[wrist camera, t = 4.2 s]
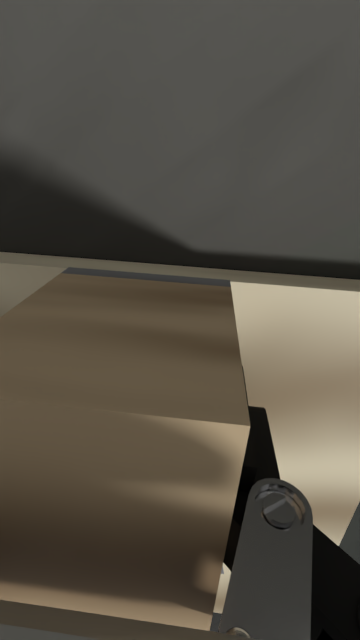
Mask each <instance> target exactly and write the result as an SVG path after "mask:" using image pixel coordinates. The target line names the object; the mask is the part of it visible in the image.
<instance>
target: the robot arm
mask: <svg viewBox="0 0 360 640" xmlns="http://www.w3.org/2000/svg"><path fill="white" fill-rule="evenodd" d="M242 369H243V366H242ZM243 376H244V370H243ZM244 384H245V377H244ZM245 391H246V384H245ZM246 398H247V391H246ZM247 405H248V398H247ZM248 412H249V419H250V431H249V436H248V441H247V446H246V451H245V456H244V461H243V466H242V471H241V476H240V481H239V486H238V491H237V496H236V501H235V506H234V511H233V516H232V521H231V526H230V531H229V536H228V541H227V546H226V550H225V555H224V560H223V563H224V564H225V565H226V566H227V567H228V569H229V570H230V571H231V575H230V580H229V584H228V589H227V593H226V598H225V602H224V607H223V611H222V616H221V620H220V625H219V629H218V632H212V631H206V630H200V629H193V628H187V627H180V626H174V625H167V624H160V623H154V622H147V621H141V620H134V619H128V618H121V617H114V616H108V615H101V614H95V613H88V612H81V611H74V610H67V609H61V608H54V607H47V606H40V605H33V604H27V603H20V602H13V601H6V600H0V640H360V565H359V564H358V563H357V562H356V561H355V560H354V559H352V558H351V557H350V556H349V555H348V554H347V553H346V552H344V551H343V550H342V549H341V548H340V547H339V546H338V545H336V544H335V543H334V542H333V541H332V540H331V539H330V538H328V537H327V536H326V535H325V534H324V533H323V532H322V531H320V530H319V529H318V528H317V527H316V526H315V525H314V524H313V515H312V508H311V506H310V504H309V502H308V500H307V498H306V497H305V496H304V495H303V494H302V492H301V491H300V490H298V489H297V488H296V487H295V486H293V485H292V484H290V483H288V482H286V481H284V480H281V479H280V474H279V470H278V465H277V460H276V455H275V451H274V446H273V441H272V436H271V432H270V427H269V422H268V417H267V413H266V409H265V408H264V407H254V406H249V405H248Z"/></svg>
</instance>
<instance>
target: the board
mask: <svg viewBox="0 0 360 640" xmlns="http://www.w3.org/2000/svg"><path fill="white" fill-rule="evenodd" d="M68 267H73V268H86V269H98V270H110V271H123V272H135V273H148V274H160V275H173V276H185V277H198V278H210V279H223V280H230V283H231V291H232V298H233V305H234V312H235V319H236V326H237V333H238V341H239V348H240V355H241V362H242V366H243V370H244V377H245V384H246V391H247V398H248V405H249V406H254V407H264V408H265V409H266V413H267V417H268V422H269V427H270V432H271V436H272V441H273V446H274V451H275V455H276V460H277V465H278V470H279V474H280V479H281V480H284V481H286V482H288V483H290V484H292V485H293V486H295V487H296V488H297V489H298V490H300V491H301V492H302V494H303V495H304V496H305V497H306V498H307V500H308V502H309V504H310V506H311V508H312V515H313V524H314V525H315V526H316V527H317V528H318V529H319V530H320V531H322V532H323V533H324V534H325V535H326V536H327V537H328V538H330V539H331V540H332V541H333V542H334V543H335V544H336V545H338V546H339V544H340V542H341V540H342V538H343V536H344V533H345V531H346V529H347V527H348V525H349V523H350V521H351V518H352V516H353V514H354V512H355V510H356V508H357V506H358V503H359V501H360V280H355V279H342V278H329V277H316V276H304V275H291V274H278V273H265V272H252V271H240V270H227V269H214V268H201V267H189V266H176V265H163V264H150V263H137V262H125V261H112V260H99V259H86V258H73V257H61V256H48V255H35V254H22V253H10V252H0V317H1V316H3V315H4V314H5V313H7V312H8V311H9V310H11V309H12V308H13V307H15V306H16V305H18V304H19V303H20V302H22V301H23V300H24V299H26V298H27V297H29V296H30V295H31V294H33V293H34V292H35V291H37V290H38V289H40V288H41V287H42V286H44V285H45V284H46V283H48V282H49V281H51V280H52V279H53V278H55V277H56V276H57V275H59V274H60V273H61V272H63V271H64V270H66V269H67V268H68ZM230 575H231V571H230V570H229V569H228V567H227V566H226V565H225V564H224V563H223V565H222V570H221V575H220V580H219V585H218V590H217V595H216V600H215V605H214V610H213V612H216V613H222V611H223V607H224V602H225V598H226V593H227V589H228V584H229V580H230Z"/></svg>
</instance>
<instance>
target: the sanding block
mask: <svg viewBox="0 0 360 640" xmlns="http://www.w3.org/2000/svg"><path fill="white" fill-rule="evenodd" d="M249 431H250V419H249V412H248V405H247V398H246V391H245V384H244V376H243V369H242V362H241V355H240V348H239V341H238V333H237V326H236V319H235V312H234V305H233V298H232V291H231V283H230V280H223V279H210V278H198V277H185V276H173V275H160V274H148V273H135V272H123V271H110V270H98V269H86V268H73V267H68V268H67V269H66V270H64V271H63V272H61V273H60V274H59V275H57V276H56V277H55V278H53V279H52V280H51V281H49V282H48V283H46V284H45V285H44V286H42V287H41V288H40V289H38V290H37V291H35V292H34V293H33V294H31V295H30V296H29V297H27V298H26V299H24V300H23V301H22V302H20V303H19V304H18V305H16V306H15V307H13V308H12V309H11V310H9V311H8V312H7V313H5V314H4V315H3V316H1V317H0V600H6V601H13V602H20V603H27V604H33V605H40V606H47V607H54V608H61V609H67V610H74V611H81V612H88V613H95V614H101V615H108V616H114V617H121V618H128V619H134V620H141V621H147V622H154V623H160V624H167V625H174V626H180V627H187V628H193V629H200V630H206V631H209V630H210V625H211V620H212V615H213V610H214V605H215V600H216V595H217V590H218V585H219V580H220V575H221V570H222V565H223V560H224V555H225V550H226V546H227V541H228V536H229V531H230V526H231V521H232V516H233V511H234V506H235V501H236V496H237V491H238V486H239V481H240V476H241V471H242V466H243V461H244V456H245V451H246V446H247V441H248V436H249Z"/></svg>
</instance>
